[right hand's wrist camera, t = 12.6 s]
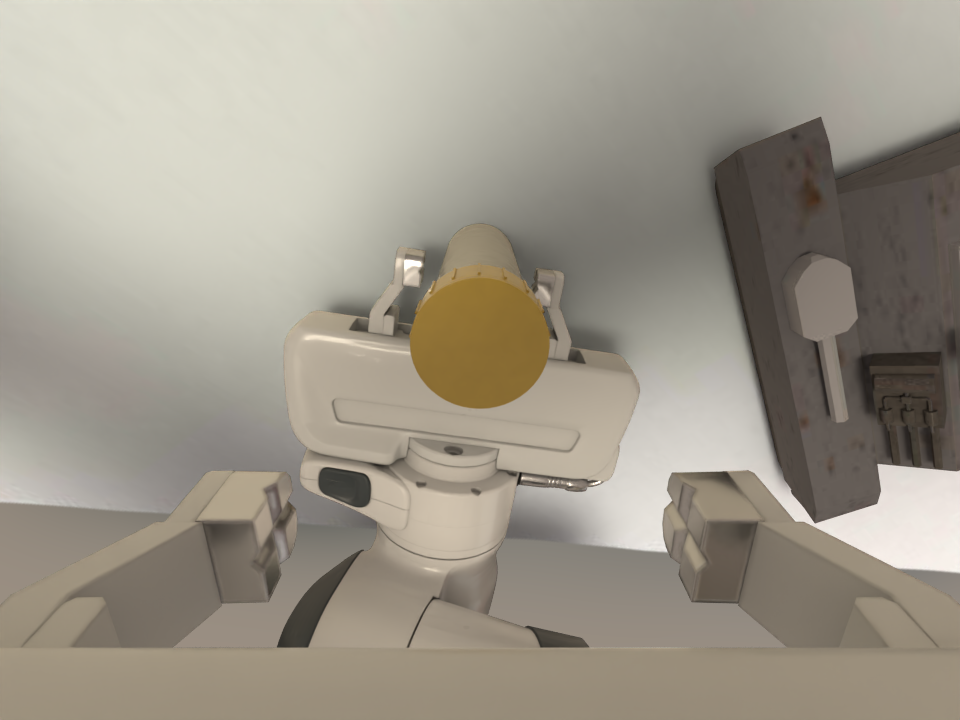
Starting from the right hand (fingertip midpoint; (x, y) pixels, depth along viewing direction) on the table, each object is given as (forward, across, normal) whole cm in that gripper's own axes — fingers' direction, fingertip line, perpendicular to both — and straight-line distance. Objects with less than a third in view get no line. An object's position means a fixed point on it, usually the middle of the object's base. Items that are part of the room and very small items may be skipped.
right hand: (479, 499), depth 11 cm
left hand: (+20, 0, -1) cm, 20 cm away
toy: (+25, -27, +2) cm, 37 cm away
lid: (+9, 0, 0) cm, 9 cm away
